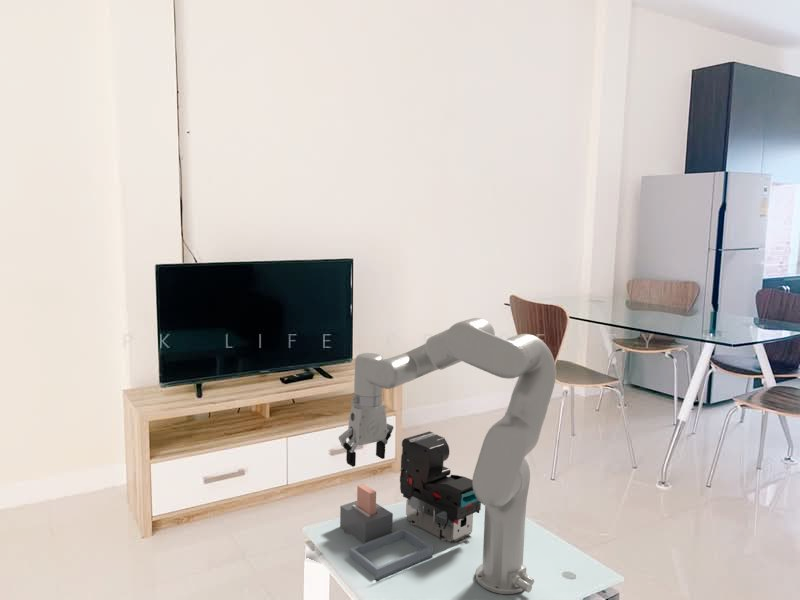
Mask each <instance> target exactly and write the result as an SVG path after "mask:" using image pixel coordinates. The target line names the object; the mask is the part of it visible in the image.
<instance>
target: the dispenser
mask: <svg viewBox="0 0 800 600" xmlns="http://www.w3.org/2000/svg"><path fill="white" fill-rule="evenodd" d="M339 508H340V512H339V514H340V516H339V517H340V518H339V519H340V522H339V523H340V524H339V527H340V528H341V529H343V530H344V531H345V532H347V533H348V534H349V535H350V536H353V538H355V539H356V540H357V541H359V542H361V544H364V543H367V542H369V541H372V540H375V539H377V538H380V537H383V536H385V535H388V534H391V533H393V519H394V518H393V517H394V514H393V513H392V512H391V511H389V510H388V509H387V508H385V507H383V506H382V505H380V504H378V503H376V514H374V515H371V516H370V515H369V514H368V513H366V512H365V511H363V510H361V509H360V508H358V507H357V500H354V501H352V502H349V503H345V504H342V505H340V507H339Z"/></svg>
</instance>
